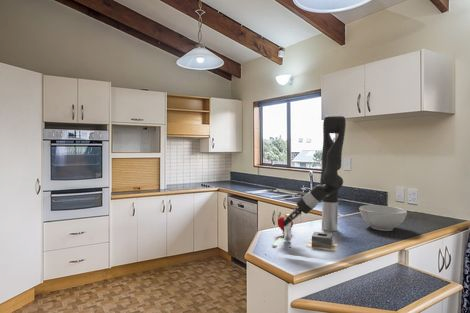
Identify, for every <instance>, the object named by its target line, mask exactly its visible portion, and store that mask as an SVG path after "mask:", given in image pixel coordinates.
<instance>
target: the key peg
mask: <svg viewBox="0 0 470 313" xmlns="http://www.w3.org/2000/svg"><path fill="white" fill-rule="evenodd" d="M290 214H291V213H285V214H284V216H283V217H284V221H285V220H286V219H287V217H289V216H290ZM289 218H290V217H289ZM290 219H291V218H290ZM283 238H284V239H283V241H286V242H289V241H292V228H291V222H289V223H288V224H287V225H286V226H284V235H283Z"/></svg>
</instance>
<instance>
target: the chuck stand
mask: <svg viewBox="0 0 470 313" xmlns="http://www.w3.org/2000/svg"><path fill="white" fill-rule="evenodd" d="M333 236H334V234H333V233H330V232H321V231H314V232H313V233H312V235H311V239H309V240H308V242H307V243H306V245H305V248H308V249H314V250H315V249H316V250H323V251H332V252H336V250H337V247H338V242H334V241H333V238H334V237H333Z"/></svg>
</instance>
